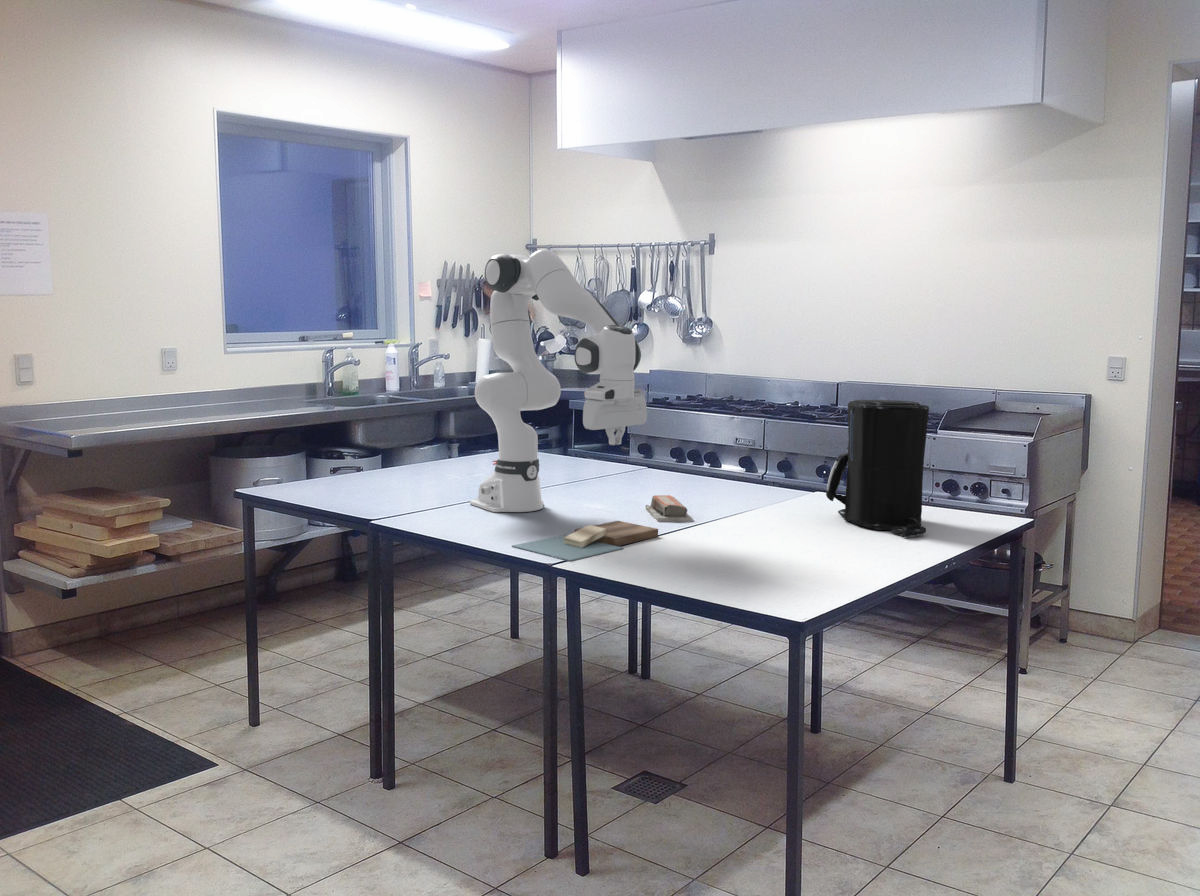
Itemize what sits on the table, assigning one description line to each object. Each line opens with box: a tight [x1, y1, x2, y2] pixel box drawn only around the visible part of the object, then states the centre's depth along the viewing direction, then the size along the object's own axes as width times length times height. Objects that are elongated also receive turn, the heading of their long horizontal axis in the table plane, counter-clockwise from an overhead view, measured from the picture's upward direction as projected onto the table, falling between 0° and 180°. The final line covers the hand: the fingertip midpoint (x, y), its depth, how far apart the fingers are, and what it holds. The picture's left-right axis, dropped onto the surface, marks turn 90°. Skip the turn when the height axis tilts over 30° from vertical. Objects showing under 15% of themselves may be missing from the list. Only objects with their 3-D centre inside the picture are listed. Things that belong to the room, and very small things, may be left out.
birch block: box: [563, 524, 607, 548], centre depth 254 cm, size 9×6×2 cm, turn 136°
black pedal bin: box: [825, 399, 930, 539], centre depth 280 cm, size 23×32×34 cm
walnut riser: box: [573, 520, 659, 547], centre depth 262 cm, size 14×16×2 cm
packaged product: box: [645, 494, 694, 523], centre depth 291 cm, size 18×5×10 cm
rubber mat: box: [511, 533, 624, 562], centre depth 250 cm, size 20×18×1 cm
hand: (615, 444), depth 264 cm, fingers closed
